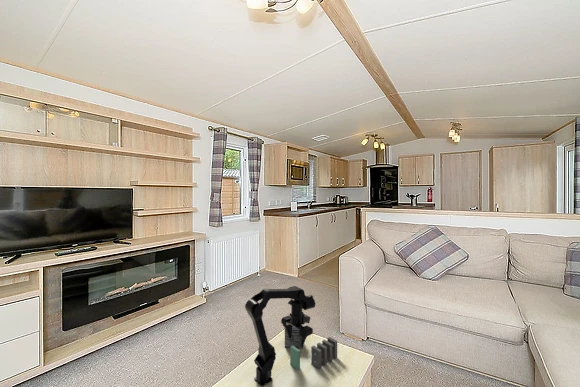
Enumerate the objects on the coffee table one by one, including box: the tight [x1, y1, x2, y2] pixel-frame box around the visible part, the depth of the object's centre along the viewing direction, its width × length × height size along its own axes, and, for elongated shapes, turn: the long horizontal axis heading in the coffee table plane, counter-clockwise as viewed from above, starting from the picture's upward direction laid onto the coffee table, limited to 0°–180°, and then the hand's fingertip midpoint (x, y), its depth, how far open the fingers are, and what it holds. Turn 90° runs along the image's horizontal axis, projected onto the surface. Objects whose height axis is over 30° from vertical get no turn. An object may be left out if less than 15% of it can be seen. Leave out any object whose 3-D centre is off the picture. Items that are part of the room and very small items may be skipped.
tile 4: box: [321, 339, 333, 363], centre depth 139 cm, size 2×6×9 cm, turn 40°
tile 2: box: [310, 345, 323, 370], centre depth 133 cm, size 2×6×9 cm, turn 41°
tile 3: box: [316, 342, 328, 366], centre depth 136 cm, size 2×6×9 cm, turn 41°
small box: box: [284, 324, 304, 349], centre depth 152 cm, size 11×6×10 cm, turn 84°
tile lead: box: [289, 346, 301, 370], centre depth 133 cm, size 2×6×9 cm, turn 40°
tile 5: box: [326, 336, 338, 360], centre depth 142 cm, size 2×6×9 cm, turn 41°
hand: (296, 342), depth 134 cm, fingers open, 9 cm apart
